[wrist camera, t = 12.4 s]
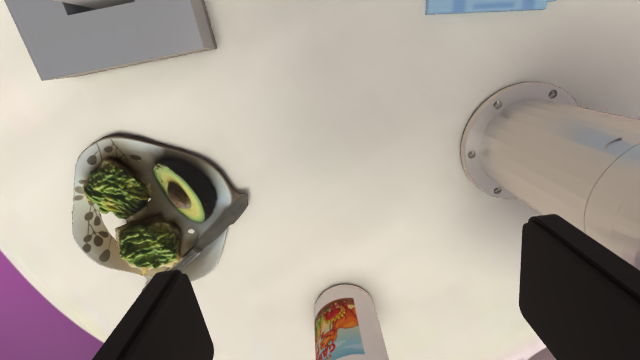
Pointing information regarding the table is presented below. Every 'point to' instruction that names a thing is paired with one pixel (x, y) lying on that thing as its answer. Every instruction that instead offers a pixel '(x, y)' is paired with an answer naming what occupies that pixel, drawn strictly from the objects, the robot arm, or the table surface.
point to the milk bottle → (347, 326)
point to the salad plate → (152, 207)
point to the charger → (97, 3)
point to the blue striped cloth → (482, 6)
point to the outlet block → (108, 34)
